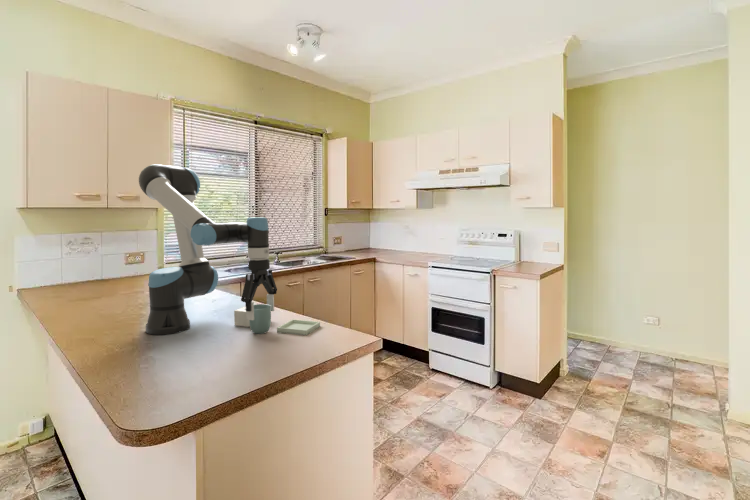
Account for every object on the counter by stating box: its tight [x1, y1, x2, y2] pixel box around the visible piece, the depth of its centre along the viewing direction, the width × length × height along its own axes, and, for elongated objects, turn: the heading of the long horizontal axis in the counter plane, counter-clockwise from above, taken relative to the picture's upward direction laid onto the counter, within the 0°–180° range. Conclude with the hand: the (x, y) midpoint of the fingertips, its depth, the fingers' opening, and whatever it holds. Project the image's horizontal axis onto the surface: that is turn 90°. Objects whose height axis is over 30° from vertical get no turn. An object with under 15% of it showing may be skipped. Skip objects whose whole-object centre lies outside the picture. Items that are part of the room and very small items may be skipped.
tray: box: [276, 318, 321, 336], centre depth 152 cm, size 12×12×2 cm
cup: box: [249, 303, 272, 335], centre depth 147 cm, size 8×8×10 cm
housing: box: [233, 305, 250, 328], centre depth 160 cm, size 10×10×6 cm
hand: (261, 315), depth 147 cm, fingers open, 13 cm apart
